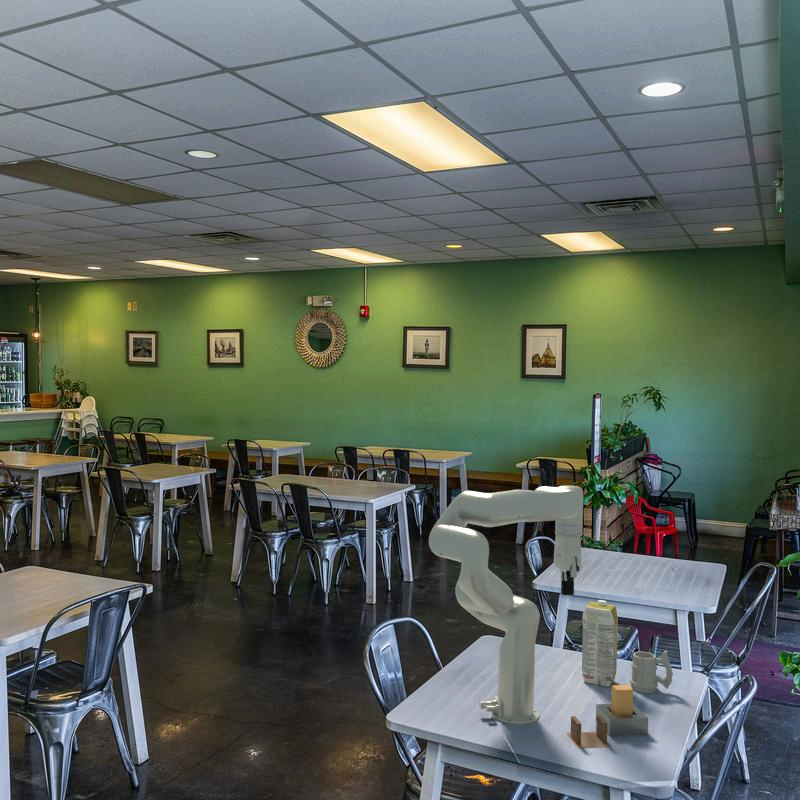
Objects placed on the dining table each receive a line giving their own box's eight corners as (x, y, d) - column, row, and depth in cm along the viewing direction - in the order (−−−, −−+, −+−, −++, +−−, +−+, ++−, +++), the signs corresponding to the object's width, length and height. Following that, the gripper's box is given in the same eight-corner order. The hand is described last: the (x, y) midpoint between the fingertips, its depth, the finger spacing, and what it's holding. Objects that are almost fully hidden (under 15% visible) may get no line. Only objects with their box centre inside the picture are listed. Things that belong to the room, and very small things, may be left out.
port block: (609, 739, 184) (610, 719, 184) (595, 723, 193) (596, 704, 193) (647, 737, 185) (648, 718, 185) (632, 722, 194) (632, 703, 194)
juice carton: (618, 680, 223) (619, 601, 223) (611, 689, 216) (612, 607, 216) (587, 674, 228) (589, 596, 227) (579, 682, 221) (581, 602, 221)
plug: (615, 729, 187) (616, 690, 187) (610, 724, 190) (611, 685, 190) (632, 728, 188) (633, 689, 188) (627, 723, 191) (628, 685, 191)
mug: (631, 681, 222) (631, 641, 222) (673, 688, 218) (673, 647, 218) (628, 691, 215) (629, 649, 215) (671, 698, 211) (672, 656, 211)
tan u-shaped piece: (578, 751, 177) (578, 727, 177) (566, 736, 185) (567, 713, 185) (611, 750, 178) (612, 726, 178) (598, 735, 186) (599, 712, 186)
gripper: (547, 525, 217) (546, 587, 217) (565, 534, 202) (563, 601, 202) (572, 525, 218) (570, 587, 218) (591, 534, 203) (590, 601, 203)
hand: (567, 594), depth 210 cm, fingers closed
